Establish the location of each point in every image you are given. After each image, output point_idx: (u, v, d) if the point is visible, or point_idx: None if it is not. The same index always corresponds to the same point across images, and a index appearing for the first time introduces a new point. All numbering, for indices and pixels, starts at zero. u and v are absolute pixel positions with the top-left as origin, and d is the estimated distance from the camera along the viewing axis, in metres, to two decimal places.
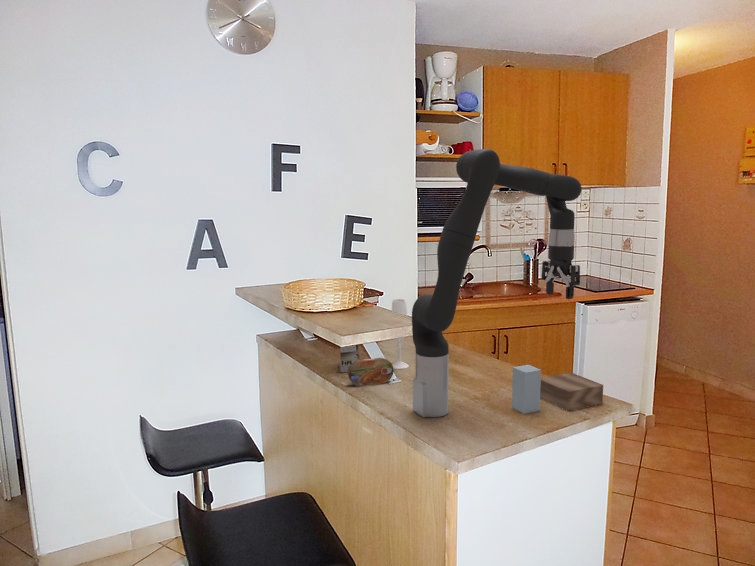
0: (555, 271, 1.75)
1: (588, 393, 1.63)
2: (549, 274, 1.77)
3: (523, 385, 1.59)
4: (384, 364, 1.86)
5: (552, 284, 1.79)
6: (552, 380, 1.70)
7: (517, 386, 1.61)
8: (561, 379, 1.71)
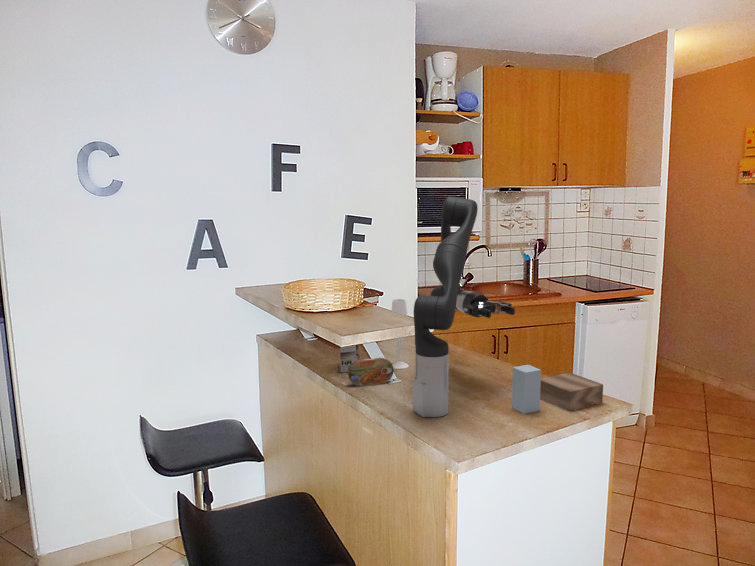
0: (484, 305, 1.76)
1: (588, 392, 1.63)
2: (481, 304, 1.74)
3: (523, 385, 1.59)
4: (384, 364, 1.86)
5: None
6: (552, 381, 1.69)
7: (517, 386, 1.61)
8: (561, 379, 1.71)
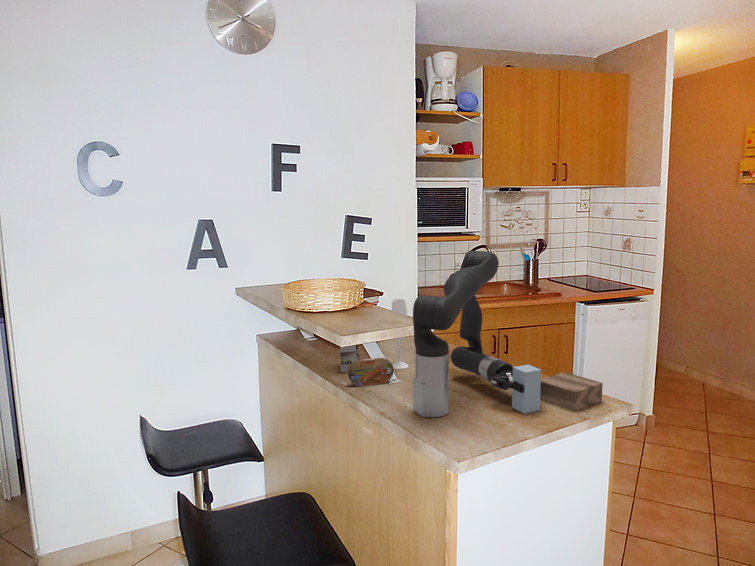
0: (511, 375, 1.67)
1: (590, 392, 1.64)
2: (510, 376, 1.65)
3: None
4: (384, 364, 1.86)
5: None
6: (552, 381, 1.69)
7: None
8: (560, 379, 1.70)
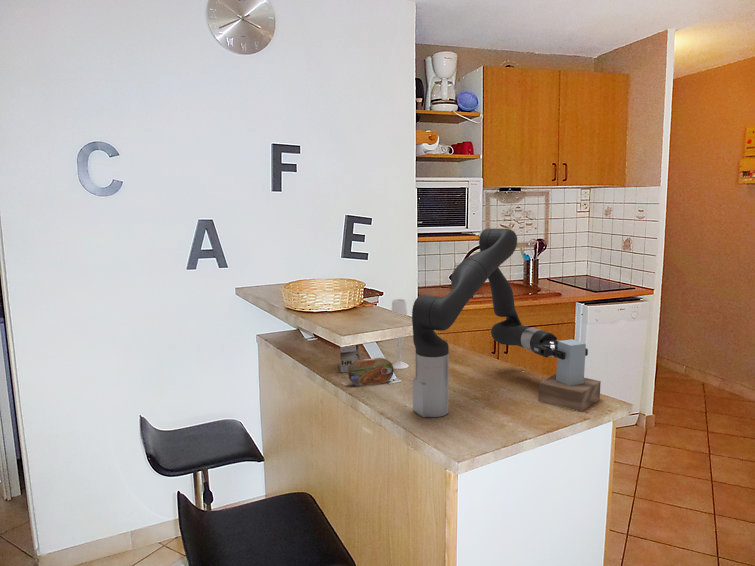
0: (555, 344, 1.72)
1: (592, 391, 1.65)
2: (552, 344, 1.70)
3: (569, 358, 1.64)
4: (384, 364, 1.86)
5: None
6: (554, 383, 1.68)
7: (562, 360, 1.67)
8: None
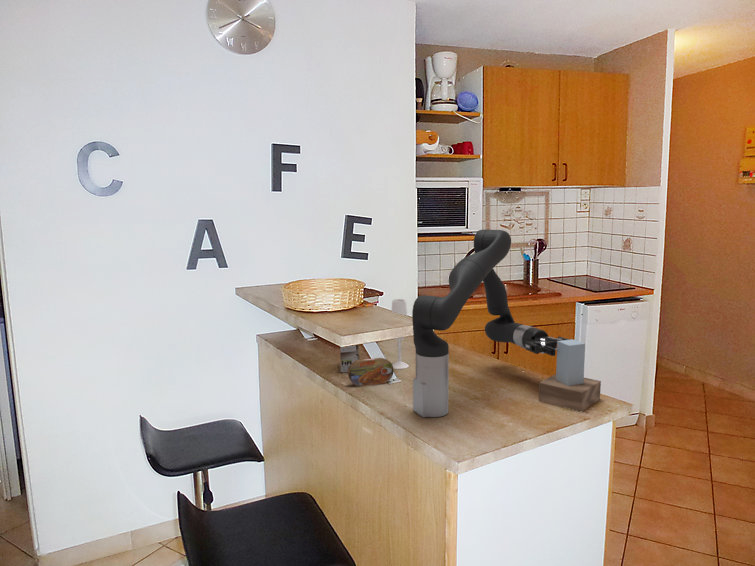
0: (546, 341, 1.76)
1: (592, 391, 1.65)
2: (543, 341, 1.74)
3: (567, 357, 1.64)
4: (384, 364, 1.86)
5: None
6: (554, 383, 1.68)
7: (561, 360, 1.67)
8: None
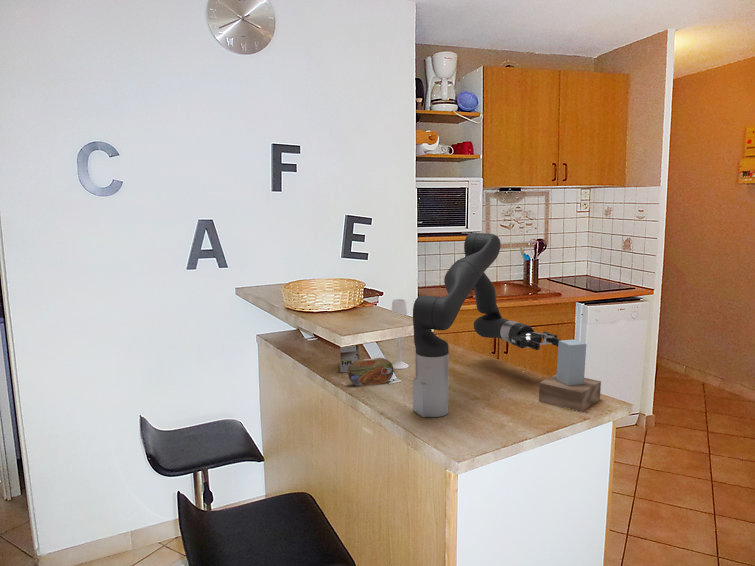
0: (531, 336, 1.82)
1: (592, 391, 1.65)
2: (528, 336, 1.80)
3: (568, 357, 1.64)
4: (384, 364, 1.86)
5: None
6: (554, 383, 1.68)
7: (562, 359, 1.67)
8: None
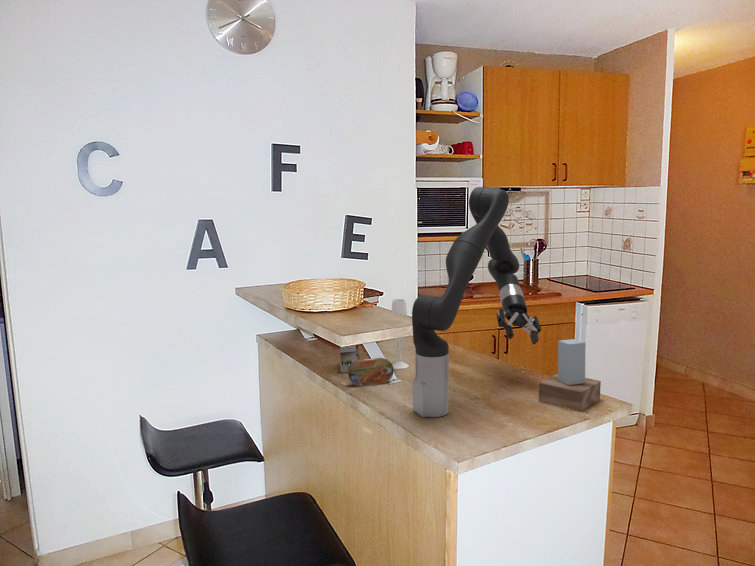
0: (517, 318, 1.81)
1: (592, 390, 1.65)
2: (513, 318, 1.79)
3: (567, 356, 1.65)
4: (384, 364, 1.86)
5: None
6: (554, 383, 1.68)
7: (562, 359, 1.67)
8: None
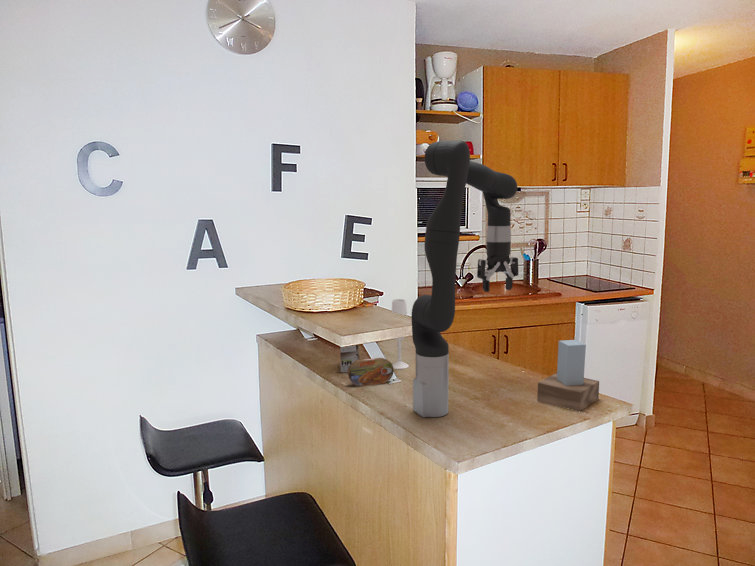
0: (497, 267, 1.80)
1: (591, 390, 1.65)
2: (493, 271, 1.79)
3: (566, 357, 1.64)
4: (384, 364, 1.86)
5: None
6: (552, 383, 1.68)
7: (561, 359, 1.67)
8: None
